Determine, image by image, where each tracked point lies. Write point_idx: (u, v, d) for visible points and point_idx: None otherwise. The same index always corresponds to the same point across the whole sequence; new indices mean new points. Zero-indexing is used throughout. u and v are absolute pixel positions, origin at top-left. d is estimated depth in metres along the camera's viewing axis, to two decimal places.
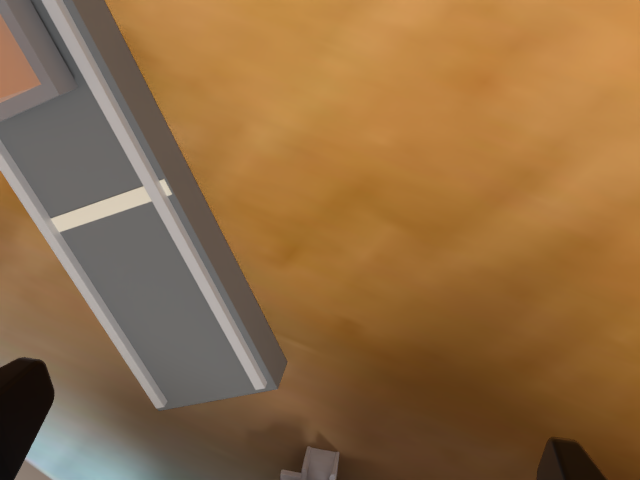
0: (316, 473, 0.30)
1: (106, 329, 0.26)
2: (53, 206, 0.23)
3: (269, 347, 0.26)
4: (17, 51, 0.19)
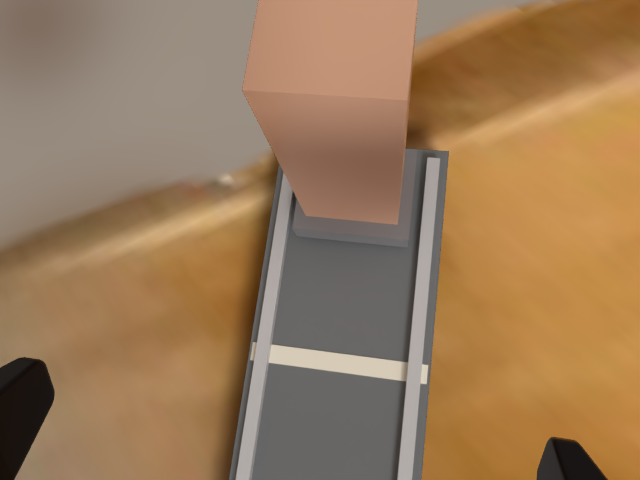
0: None
1: None
2: (285, 334, 0.21)
3: None
4: (401, 192, 0.20)
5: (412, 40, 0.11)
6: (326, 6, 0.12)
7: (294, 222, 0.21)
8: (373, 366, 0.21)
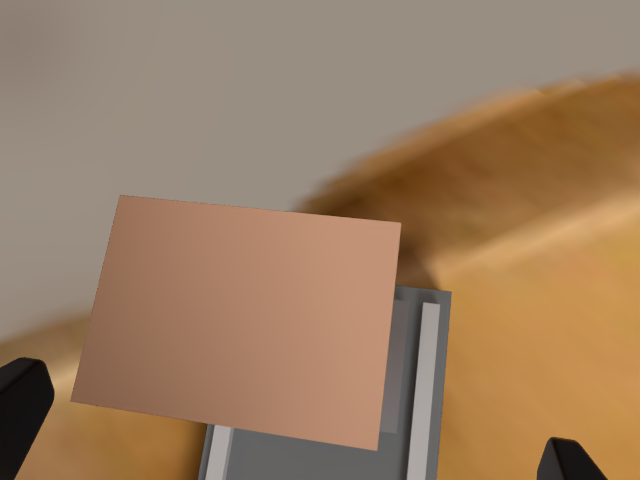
0: None
1: None
2: None
3: None
4: (386, 364, 0.15)
5: (388, 317, 0.06)
6: (233, 236, 0.06)
7: None
8: None
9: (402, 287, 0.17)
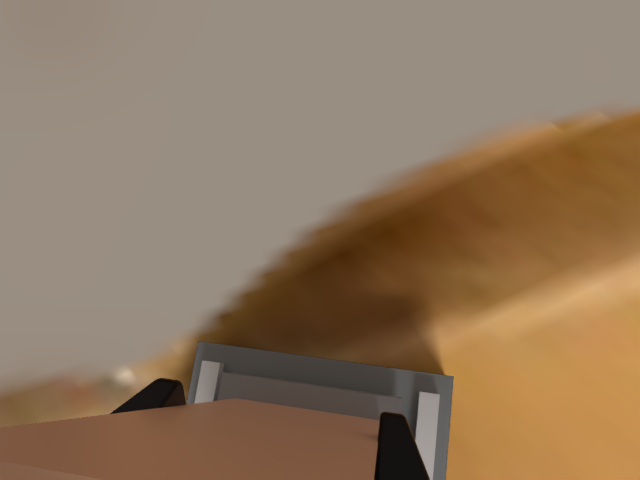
0: None
1: None
2: None
3: None
4: None
5: None
6: None
7: None
8: None
9: (395, 370, 0.14)
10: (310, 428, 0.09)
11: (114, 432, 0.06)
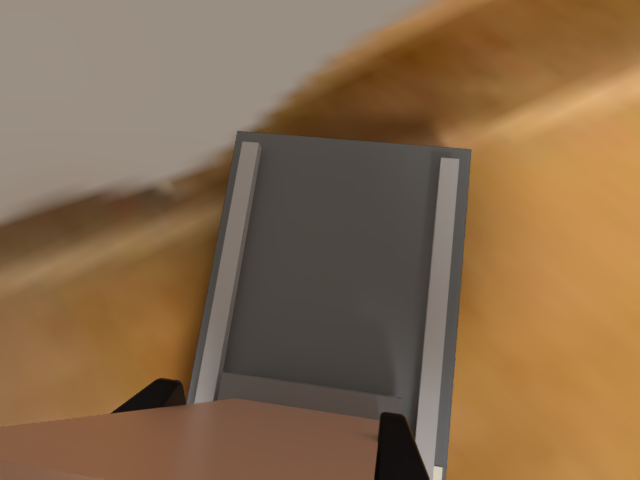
0: None
1: None
2: None
3: None
4: None
5: None
6: None
7: None
8: None
9: (418, 146, 0.16)
10: (310, 428, 0.09)
11: (113, 432, 0.06)
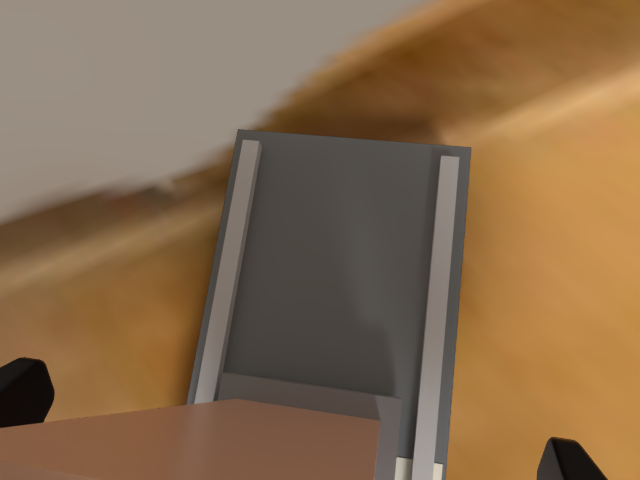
0: None
1: None
2: None
3: None
4: None
5: None
6: None
7: None
8: None
9: (418, 144, 0.16)
10: (310, 428, 0.09)
11: (114, 432, 0.06)
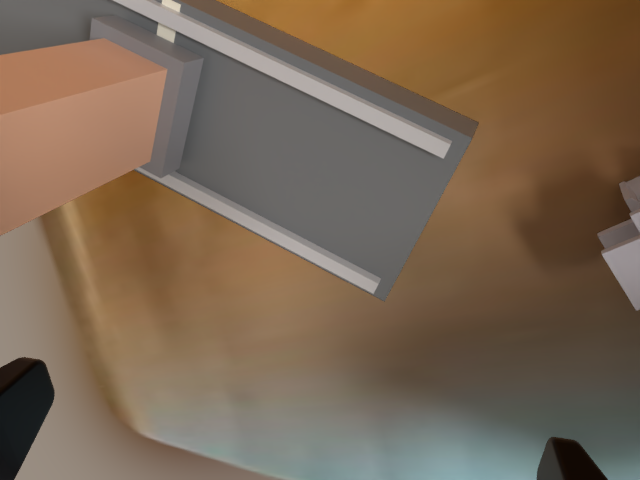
0: None
1: (255, 229, 0.21)
2: None
3: (429, 107, 0.18)
4: (132, 54, 0.18)
5: None
6: None
7: (155, 174, 0.20)
8: None
9: None
10: None
11: None
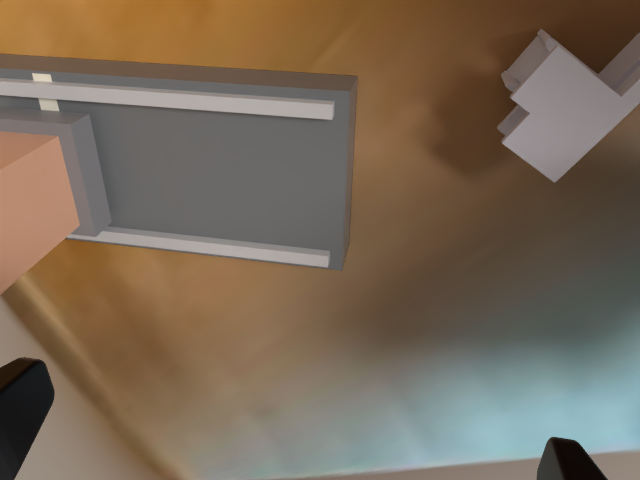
0: None
1: (200, 250, 0.21)
2: None
3: (305, 79, 0.19)
4: (22, 135, 0.19)
5: None
6: None
7: (89, 235, 0.20)
8: None
9: None
10: None
11: None
